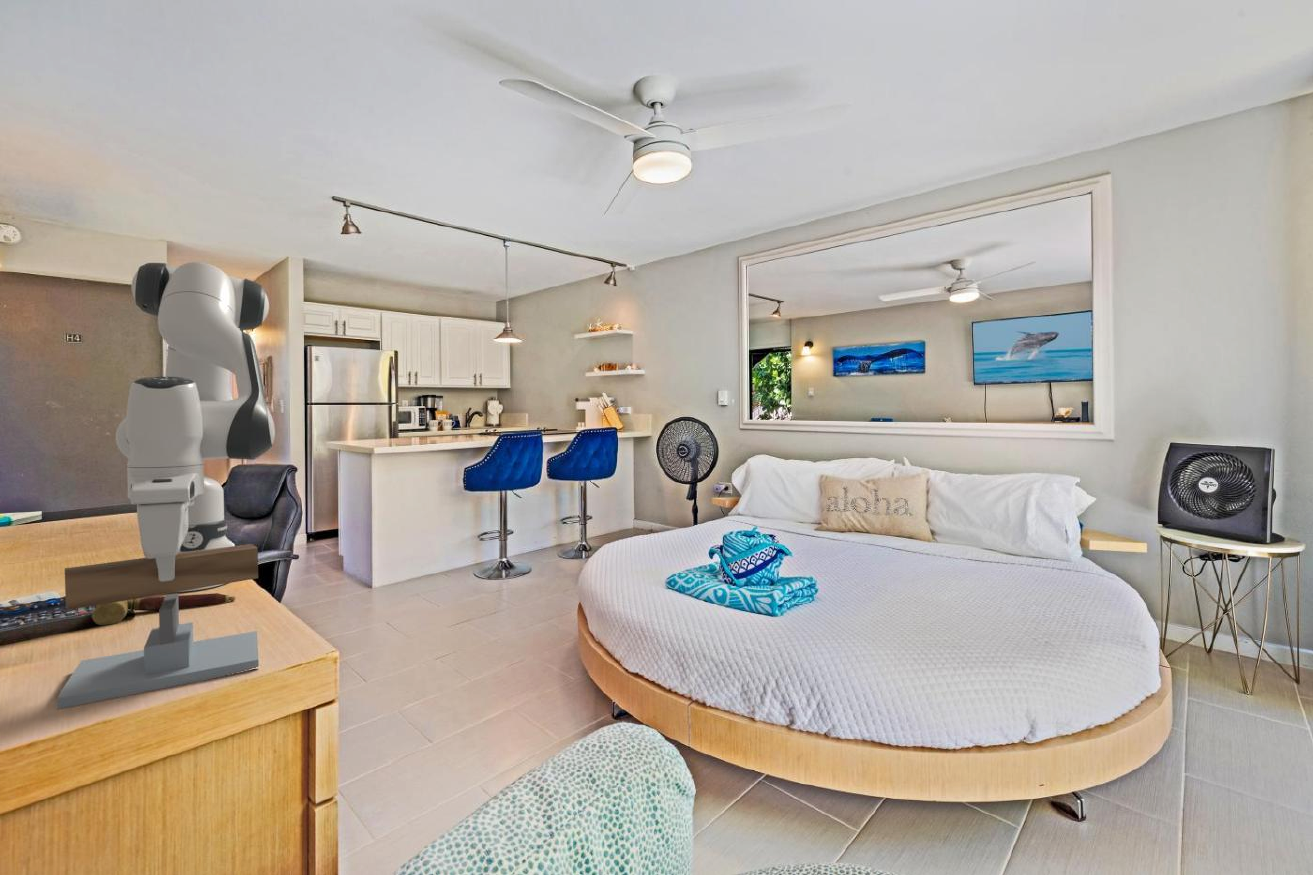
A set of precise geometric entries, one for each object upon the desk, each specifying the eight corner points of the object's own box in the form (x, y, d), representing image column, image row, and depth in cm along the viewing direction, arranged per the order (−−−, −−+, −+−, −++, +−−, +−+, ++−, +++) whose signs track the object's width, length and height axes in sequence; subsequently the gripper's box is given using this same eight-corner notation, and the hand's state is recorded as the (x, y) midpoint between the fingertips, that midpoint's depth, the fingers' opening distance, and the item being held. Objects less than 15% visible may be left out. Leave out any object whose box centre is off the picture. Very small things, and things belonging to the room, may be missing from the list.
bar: (65, 603, 82) (64, 568, 82) (252, 573, 98) (251, 543, 98) (66, 610, 79) (65, 573, 79) (258, 578, 95) (257, 547, 95)
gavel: (238, 581, 126) (234, 593, 117) (237, 602, 126) (232, 616, 117) (108, 588, 115) (92, 602, 106) (106, 611, 115) (90, 627, 106)
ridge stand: (81, 670, 89) (79, 601, 88) (257, 639, 101) (256, 579, 101) (57, 709, 77) (54, 631, 77) (258, 669, 90) (257, 601, 89)
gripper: (148, 478, 95) (150, 563, 95) (128, 493, 78) (130, 596, 79) (198, 476, 98) (199, 558, 99) (188, 490, 82) (190, 588, 82)
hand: (169, 575), depth 89 cm, fingers closed on bar, 4 cm apart
